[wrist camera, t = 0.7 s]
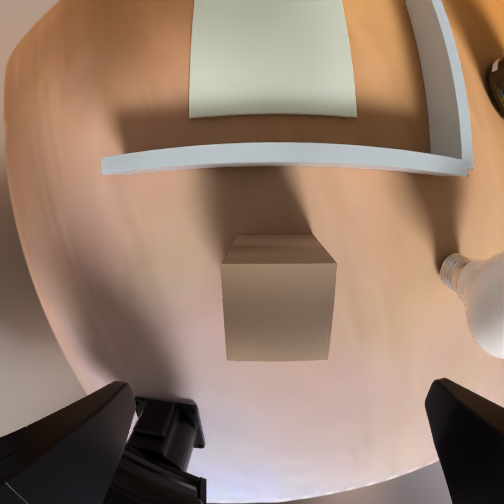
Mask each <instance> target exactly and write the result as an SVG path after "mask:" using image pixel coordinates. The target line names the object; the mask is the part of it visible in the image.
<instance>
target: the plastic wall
mask: <svg viewBox="0 0 504 504" xmlns="http://www.w3.org/2000/svg"><path fill="white" fill-rule="evenodd" d="M405 4H406V7H407V10H408V14H409V17H410V20H411V24H412V28H413V32H414V36H415V40H416V44H417V48H418V53H419V58H420V63H421V68H422V74H423V80H424V86H425V94H426V101H427V110H428V120H429V132H430V150H431V154H428V153H421V152H414V151H407V150H399V149H390V148H381V147H371V146H359V145H345V144H328V143H296V142H262V143H230V144H212V145H198V146H186V147H176V148H166V149H158V150H149V151H142V152H135V153H128V154H121V155H115V156H109V157H103V158H101V169H102V175H133V174H142V173H151V172H162V171H173V170H186V169H201V168H220V167H248V166H313V167H341V168H360V169H374V170H387V171H398V172H408V173H417V174H426V175H434V176H464V177H468V170H473V153H472V137H471V126H470V116H469V108H468V101H467V95H466V89H465V83H464V78H463V73H462V68H461V64H460V60H459V56H458V52H457V48H456V44H455V40H454V37H453V34H452V30H451V27H450V24H449V21H448V18H447V15H446V12H445V10H444V7H443V4H442V2H441V0H407V1H406V2H405Z"/></svg>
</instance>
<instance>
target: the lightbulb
mask: <svg viewBox="0 0 504 504" xmlns="http://www.w3.org/2000/svg"><path fill="white" fill-rule="evenodd" d="M440 277H441V280H442V282H443V284H444V285H446V286H448V287H449V288H450V289H452V290H453V291H455V292H456V293H457V294H458V295H459V298H460V299H461V301H462V302H463V304H464V305H465V310H466V318H467V323H468V327H469V330H470V333H471V335H472V337H473V339H474V340H475V342H476V343H477V345H478V346H479V347H480V348H481V349H482V350H483V351H484V352H486V353H487V354H489V355H491V356H494V357H497V358H502V359H504V252H501V253H499V254H496V255H494V256H492V257H491V258H489V259H487V260H471V259H469V258H467V257H465V256H462V255H460V254H458V253H454V254H451V255H449V256H448V257H447V258H446V259H445V260H444V262H443V264H442V267H441V271H440Z"/></svg>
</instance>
